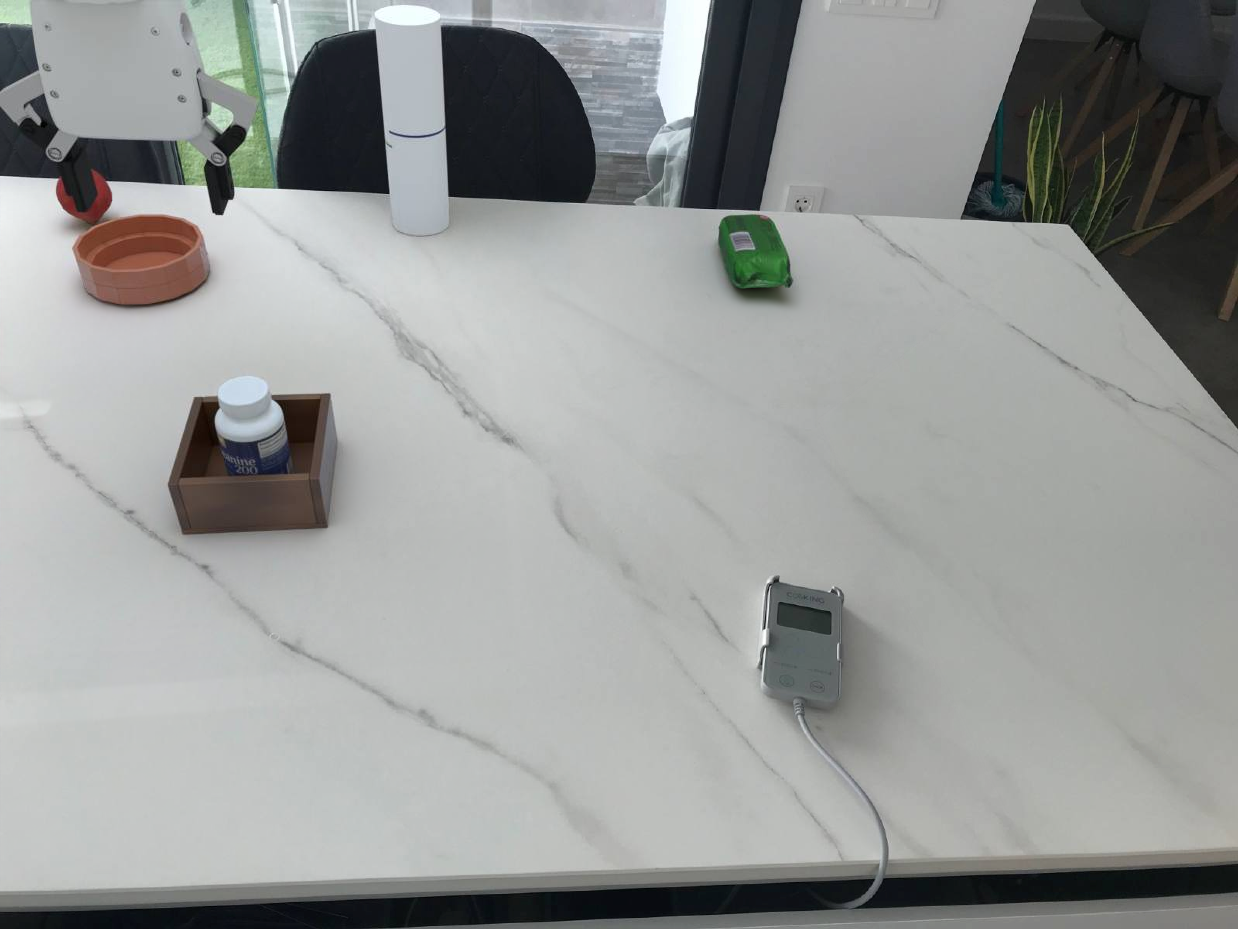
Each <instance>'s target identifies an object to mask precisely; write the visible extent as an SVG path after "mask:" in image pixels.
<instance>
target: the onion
mask: <svg viewBox="0 0 1238 929" xmlns="http://www.w3.org/2000/svg"><path fill="white" fill-rule="evenodd" d="M91 170H92V174H93V177H94V181H95V184H96V188H97V192H98V196H97V198H96V199H95V201H94V203H93V204H92V206H91V208H90V209H89V211H87V212H86V213H78V212H77V210H76V207H75V204H74V200H73V197H69V196H67V194H66V192H65V189H64V185H63V182H62V179H61V175H60V176H59V178H58V180H57V183H56V186H55V195H56V199H57V201H58V203H59V204H60V206H61V208H62V209H63V210H64V211H65V212H66V213H67V214H68V215H70V216H71V217H74V218H76V219H78V220H81V221H84V222H86V223H87V224H90V225H94V224H97V223H98V222H99V221H100V220H101V218H102V217H103V216H104V215H105V214H106V213H107V211H108V210H109V209H110V208H111V205H112V202H113V192H112V189H111V187H110V185H109V183H108V182H107V180H106V179H105V178H104V177H103V176H102V174H100V172H98V171H96V170H94V169H93V168H91Z"/></svg>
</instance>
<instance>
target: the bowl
mask: <svg viewBox="0 0 1238 929" xmlns="http://www.w3.org/2000/svg"><path fill="white" fill-rule="evenodd" d="M205 242H206V241H205V238H204V234H203V233H202V231H201V230H200V228H199V226H198V225H197V224H195V223H193V222H191V221H189V220H188V219H186V218H184V217H179V216H174V215H169V214H163V213H162V214H161V213H157V214H155V213H153V214H152V213H151V214H150V213H147V214H145V213H144V214H133V215H127V216H122V217H121V216H120V217H116V218H112V219H109V220H107V221H104V222H101V223H98V224H96V225H93V226H91V227H90V228H88V229H87V230H86V231H84V232H82V233H81V234H79V235H78V236H77V238H76V240H75V241H74V243H73V245H72V247H71V249H72V253H73V255H74V259H75V262H76V265H77V269H78V270H79V271H78V272H79V274H80V277H81V280H82V283H83V286H84V289H85V292H86V293H89V294H90V295H92V296H93V297H95V298H96V299H97V300H99V301H103V302H108V303H113V304H116V305H117V304H118V305H151V304H155V303H160V302H165V301H171V300H174V299H175V298H179V297H181V296H182V295H185V294H188V293H190V292H193V291H194V290H195V289H196V288H198V287H199V286H200V285H201V284H203V282H205V281H206V280H207V278H208V275H209V271H210V268H211V264H210V260H209V256H208V251H207V247H206V243H205Z"/></svg>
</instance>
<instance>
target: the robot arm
mask: <svg viewBox="0 0 1238 929" xmlns="http://www.w3.org/2000/svg"><path fill="white" fill-rule="evenodd" d="M29 11H30V12H29V13H30V20H31V29H32V37H33V43H34V50H35V57H36V61H37V65H38V69H37V70H36V71H34V72H32V73H31V74H28V75H26V76H25V77H23V78H21V79H19V80H17V81H15V82H12V83H11V84H10V85H7V86H5V87H4V88H2V90H0V108H1V109H2V110H3V111H4V112H5V114H6V115H7V116H8V117H9V118H10V119H11V120H12V122H13V123H15V124H16V126H18V129H19V132H20V133H21V134H22V135H23V136H24V137H26V138H27V139H28V140H30V141H31V142H33V144H35V145H36V146H38V147H39V148H41V149H42V150H44V151H45V154H46V156H47V157H48V159H49V160H51V161H53V162H56V166H57V168H58V172H59V175H60V176H61V179H62V182H63V185H64V189H65V192H66V194H67V196H69V197H73V200H74V204H75V207H76V210H77V212H78V213H86V212H87V211H89V209H90V208H91V206H92V204H93V203H94V201H95V199H96V198H97V196H98V192H97V188H96V184H95V181H94V177H93V174H92V170H91V169H92V166H91V163H90V159H89V156H88V152H87V150H86V148H84V147H83V145H82V144H78V142H77V140H78V139H79V138H83V139H97V140H99V139H101V140H127V141H164V142H165V141H167V142H168V141H169V142H173V141H174V142H178V141H179V142H180V141H187V142H188V143H189V144H190V145H191V146H192V147H193V148H195V149H196V150H197V151H198V152H199V153H201V155H202V156H203V157H205V159H206V161H205V163H204V165H203V174H204V178H205V184H206V189H207V194H208V198H209V203H210V208H211V213H212V214H214V215H215V216H224V214H225V212H226V208H227V206H228V203H229V201H234V199H235V195H236V194H235V192H236V191H235V184H234V179H233V173H232V167H231V161H230V157H231V156H232V155H233V154H234V153H235V152H236V151H237V150H238V149H239V148H240V147H241V145H243V143H244V142H245V140H246V139H247V136H248V133H249V130H250V129H251V126H252V124H253V121H254V118H255V116H256V114H257V110H258V108H259V101H258V100H257V98H255V97H254V96H251V95H250V94H248V93H245V92H244V91H241V90H239V89H238V88H235V87H233V86H231V85H229V84H227V83H225V82H223V81H221V80H219V79H217V78H215V77H213V76H211V75H209V74H207V73H206V70H205V67H204V63H203V58H202V55H201V52H200V48H199V45H198V41H197V37H196V35H195V31H194V28H193V24H192V22H191V18H190V15H189V12H188V9H187V7H186V4H185V1H184V0H29ZM42 95H44V97H45V101H46V104H47V108H48V111H49V114H50V116H51V119H52V121H53V123H52V122H50V121H49V120H48V119H47V118H45V117H44V116H42V115H41V114H39V113H38V112H36V111H35V110H34V108H33V107H32V105H31V103H30V101H32V100H34V99H36V98H38V97H40V96H42ZM212 103H213V104H216V105H217V106H220V107H222V108H224V109H226V110H227V111H230V113H231V114H232V116H233V119H232V122H231V123H230V124H229V125H228V126H227V127H226V128H225V130H224V131H222V130H221V129H220V128H219V127H218V126H217V125H216V124H215V123H214V122H213V121H212V120H211V119H210V118H209V116H211V115H212V108H213V105H212Z"/></svg>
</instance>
